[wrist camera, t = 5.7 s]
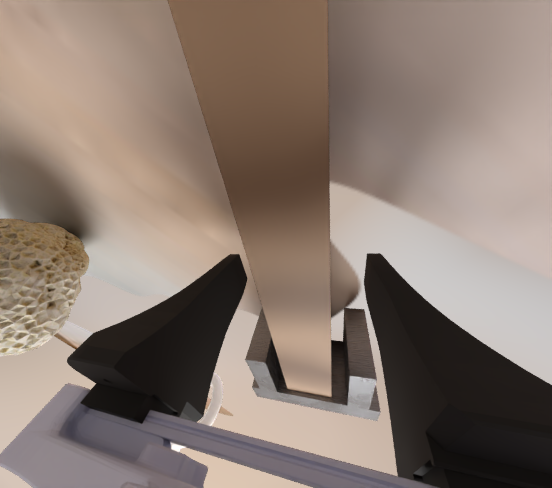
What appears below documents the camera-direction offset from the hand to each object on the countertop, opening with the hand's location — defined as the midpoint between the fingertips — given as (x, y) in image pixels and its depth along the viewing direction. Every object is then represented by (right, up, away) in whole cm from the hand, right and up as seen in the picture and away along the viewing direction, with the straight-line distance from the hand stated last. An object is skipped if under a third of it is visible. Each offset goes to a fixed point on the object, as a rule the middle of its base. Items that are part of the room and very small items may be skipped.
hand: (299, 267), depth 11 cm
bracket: (+2, -6, +7) cm, 9 cm away
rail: (+1, +1, +2) cm, 3 cm away
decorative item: (-20, +2, +7) cm, 21 cm away
